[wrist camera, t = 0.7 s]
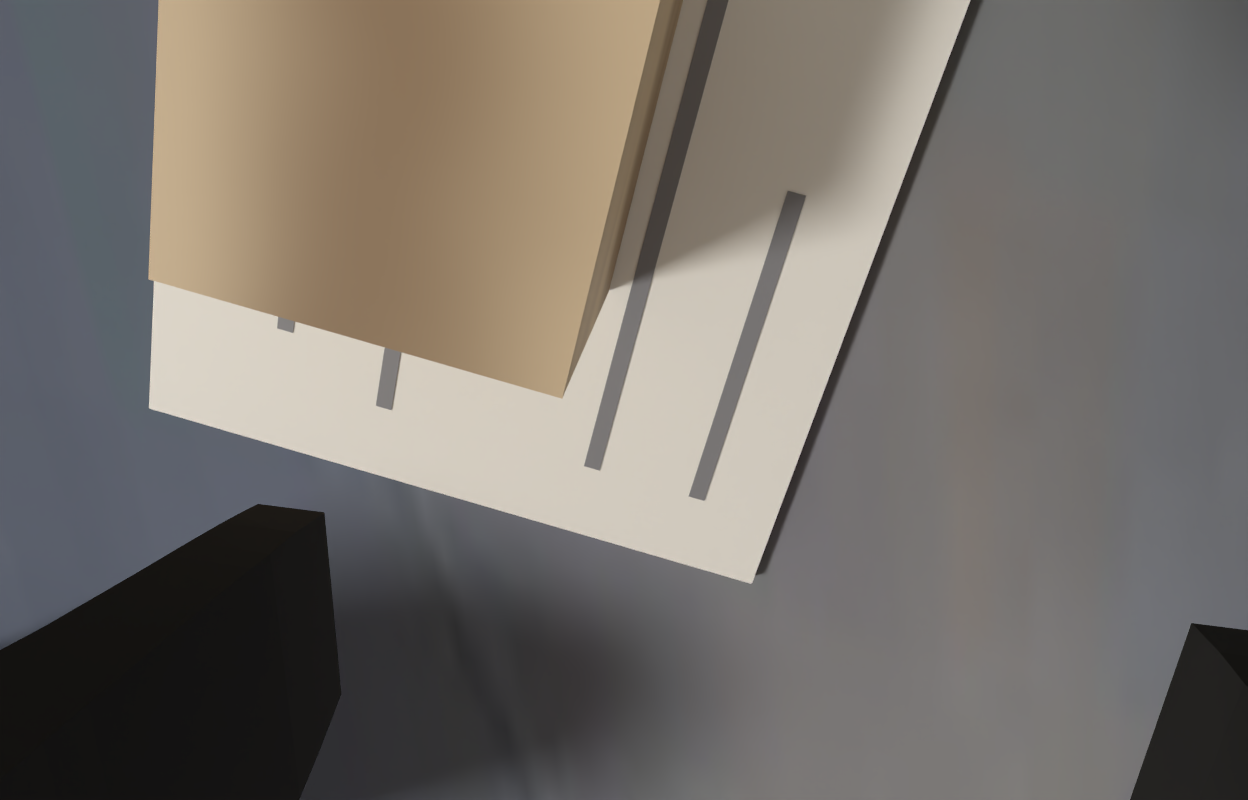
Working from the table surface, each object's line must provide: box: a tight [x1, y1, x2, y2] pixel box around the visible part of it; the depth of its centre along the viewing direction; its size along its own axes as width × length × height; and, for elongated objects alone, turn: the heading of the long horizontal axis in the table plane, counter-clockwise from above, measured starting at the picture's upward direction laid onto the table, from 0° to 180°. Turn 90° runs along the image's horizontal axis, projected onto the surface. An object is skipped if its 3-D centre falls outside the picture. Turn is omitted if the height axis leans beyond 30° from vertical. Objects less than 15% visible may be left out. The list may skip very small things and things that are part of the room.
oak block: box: [149, 0, 683, 399], centre depth 16 cm, size 6×6×4 cm
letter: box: [149, 0, 970, 584], centre depth 18 cm, size 12×16×1 cm
